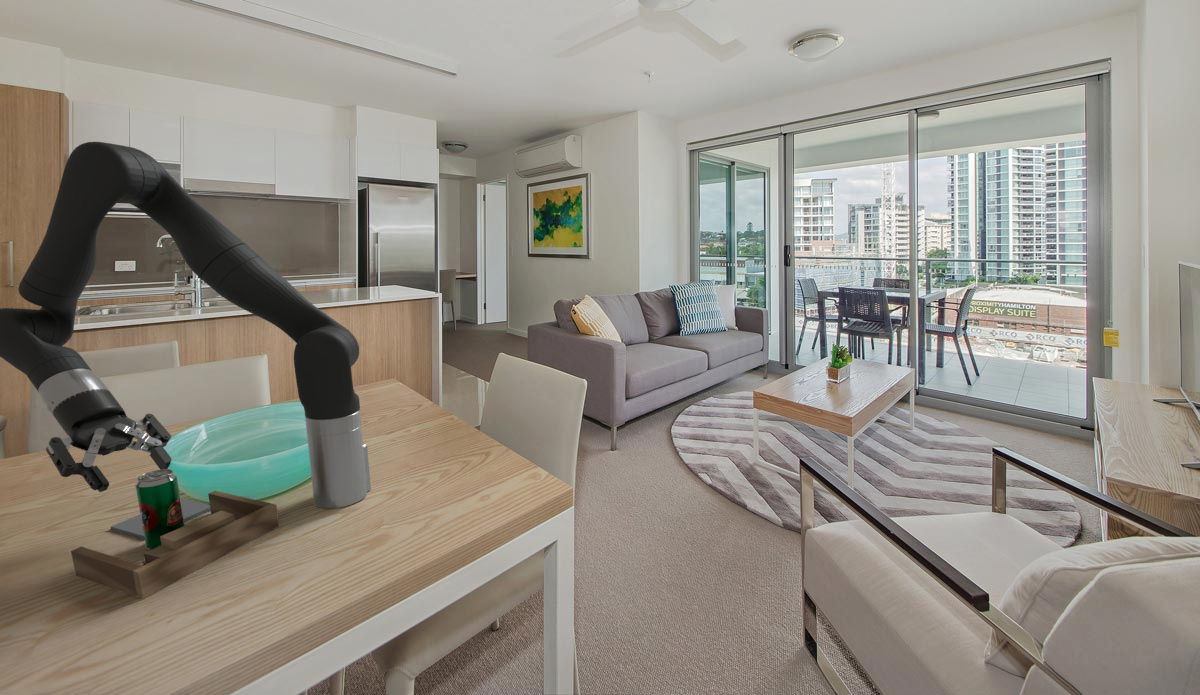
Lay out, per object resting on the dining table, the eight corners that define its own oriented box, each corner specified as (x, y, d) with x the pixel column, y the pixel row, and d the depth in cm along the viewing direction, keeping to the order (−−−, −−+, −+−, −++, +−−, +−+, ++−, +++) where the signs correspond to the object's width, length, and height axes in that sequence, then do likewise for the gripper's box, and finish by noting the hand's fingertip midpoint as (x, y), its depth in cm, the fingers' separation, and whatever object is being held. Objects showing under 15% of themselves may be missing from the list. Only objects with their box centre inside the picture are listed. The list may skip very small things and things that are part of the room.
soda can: (179, 548, 83) (168, 478, 81) (140, 554, 81) (127, 483, 79) (191, 532, 87) (180, 466, 85) (154, 538, 86) (142, 470, 83)
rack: (217, 511, 95) (215, 490, 94) (278, 525, 90) (276, 504, 89) (75, 575, 76) (70, 550, 75) (143, 599, 71) (138, 572, 70)
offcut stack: (223, 529, 88) (220, 507, 87) (243, 534, 87) (239, 511, 86) (142, 569, 77) (137, 544, 76) (162, 576, 76) (158, 550, 75)
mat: (181, 500, 98) (180, 498, 98) (213, 508, 95) (213, 505, 95) (111, 529, 88) (110, 526, 88) (145, 539, 85) (144, 536, 85)
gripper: (29, 400, 78) (89, 482, 76) (139, 378, 91) (193, 448, 89) (16, 429, 80) (74, 510, 79) (125, 404, 93) (177, 473, 92)
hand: (137, 477), depth 84 cm, fingers open, 8 cm apart
